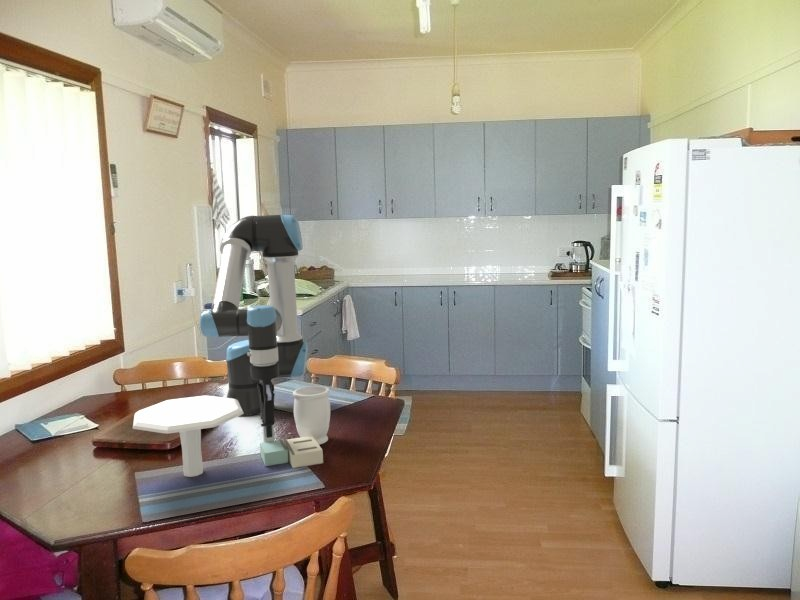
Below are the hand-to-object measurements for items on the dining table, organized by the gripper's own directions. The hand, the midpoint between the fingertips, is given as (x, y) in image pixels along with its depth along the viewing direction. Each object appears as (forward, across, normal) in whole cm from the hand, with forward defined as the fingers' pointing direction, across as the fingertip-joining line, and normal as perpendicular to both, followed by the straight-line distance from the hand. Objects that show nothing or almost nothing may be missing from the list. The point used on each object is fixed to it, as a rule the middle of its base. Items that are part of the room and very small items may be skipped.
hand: (269, 447), depth 174 cm
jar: (+2, -4, +13) cm, 14 cm away
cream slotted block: (+2, +7, +8) cm, 11 cm away
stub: (+2, +5, 0) cm, 6 cm away
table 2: (+2, +6, -20) cm, 21 cm away
